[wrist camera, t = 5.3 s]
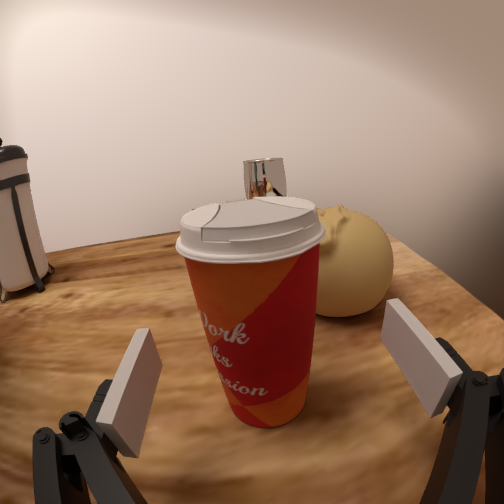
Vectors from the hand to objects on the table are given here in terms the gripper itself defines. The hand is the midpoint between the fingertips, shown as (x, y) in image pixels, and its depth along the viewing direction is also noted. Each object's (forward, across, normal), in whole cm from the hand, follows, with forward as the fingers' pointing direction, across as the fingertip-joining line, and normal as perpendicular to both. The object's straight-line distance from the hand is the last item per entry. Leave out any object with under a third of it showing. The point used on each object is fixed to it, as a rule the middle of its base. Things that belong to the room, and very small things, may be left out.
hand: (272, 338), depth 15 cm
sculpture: (+15, +8, -8) cm, 19 cm away
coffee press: (+29, -46, -8) cm, 54 cm away
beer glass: (+36, +3, -8) cm, 37 cm away
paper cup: (+2, -1, -8) cm, 8 cm away
